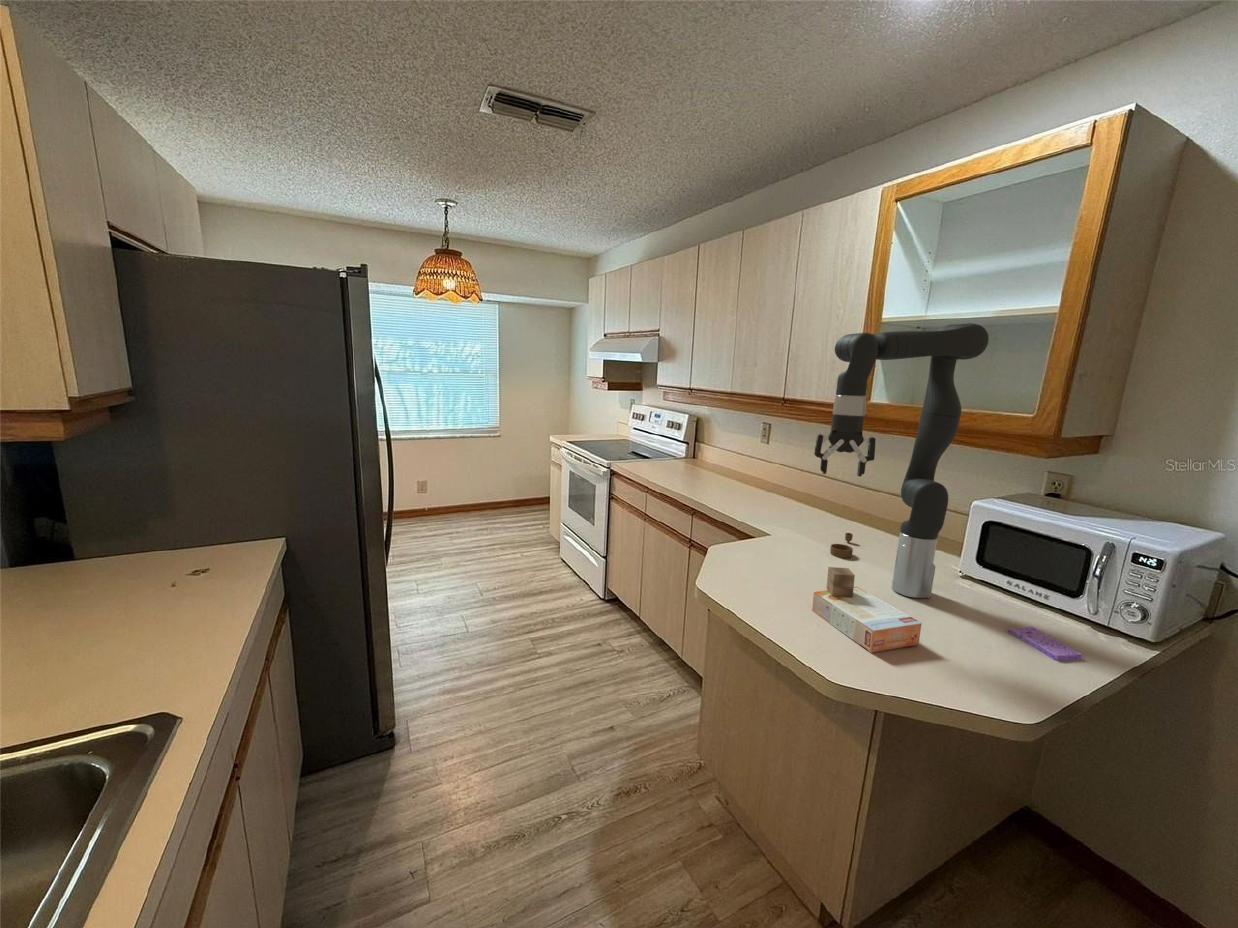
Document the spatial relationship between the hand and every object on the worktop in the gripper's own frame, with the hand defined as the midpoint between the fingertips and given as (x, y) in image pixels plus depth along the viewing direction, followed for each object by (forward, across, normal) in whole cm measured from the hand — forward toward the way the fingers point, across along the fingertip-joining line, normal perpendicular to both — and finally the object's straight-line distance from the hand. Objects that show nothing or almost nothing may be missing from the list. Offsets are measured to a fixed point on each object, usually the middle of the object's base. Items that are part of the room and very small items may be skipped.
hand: (841, 474), depth 132 cm
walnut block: (+30, -2, +7) cm, 31 cm away
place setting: (+37, -12, -40) cm, 56 cm away
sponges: (+37, -48, +7) cm, 61 cm away
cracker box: (+33, -1, +4) cm, 33 cm away
